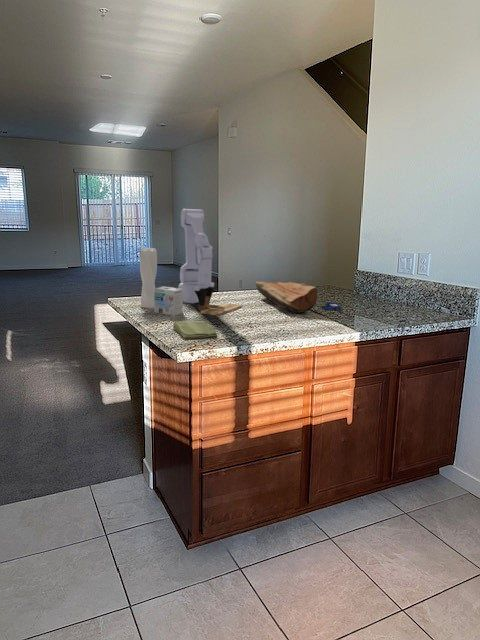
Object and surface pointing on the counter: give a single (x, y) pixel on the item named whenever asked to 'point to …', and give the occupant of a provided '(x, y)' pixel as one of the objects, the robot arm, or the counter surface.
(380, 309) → the counter surface
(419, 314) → the counter surface
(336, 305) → the bar clamp
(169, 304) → the light bulb box
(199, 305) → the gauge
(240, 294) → the counter surface
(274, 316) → the counter surface
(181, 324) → the washcloth
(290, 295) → the log
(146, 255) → the skyscraper
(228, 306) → the board
